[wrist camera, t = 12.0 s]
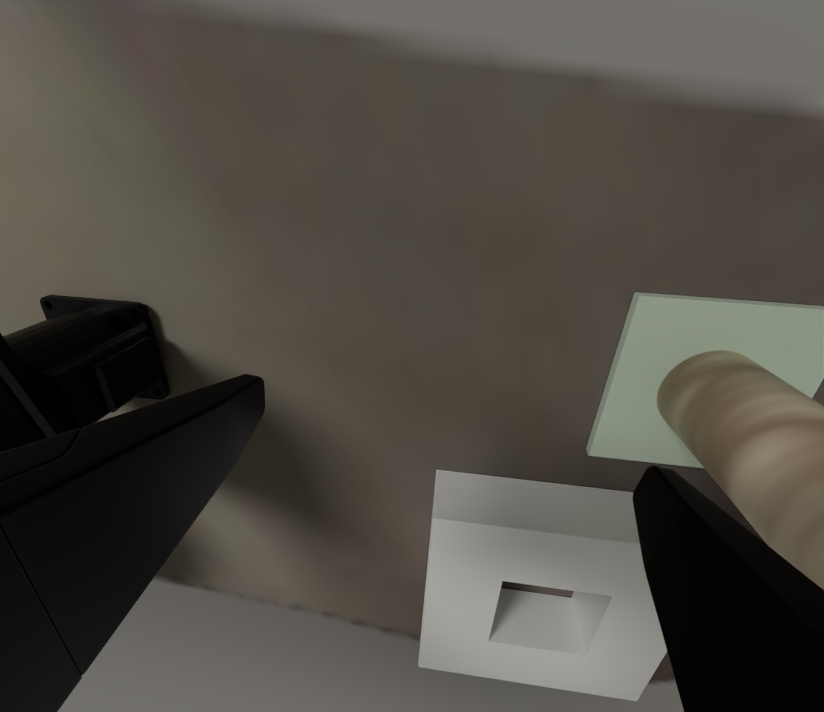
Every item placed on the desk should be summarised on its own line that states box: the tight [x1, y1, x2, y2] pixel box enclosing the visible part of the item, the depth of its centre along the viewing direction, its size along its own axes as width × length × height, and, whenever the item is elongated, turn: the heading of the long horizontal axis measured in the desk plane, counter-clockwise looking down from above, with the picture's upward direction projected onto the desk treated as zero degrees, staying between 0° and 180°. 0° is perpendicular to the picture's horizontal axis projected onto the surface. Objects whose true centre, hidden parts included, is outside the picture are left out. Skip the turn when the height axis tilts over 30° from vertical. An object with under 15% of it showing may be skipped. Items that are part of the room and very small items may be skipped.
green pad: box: [586, 292, 824, 468], centre depth 21 cm, size 10×10×1 cm
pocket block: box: [418, 470, 667, 701], centre depth 27 cm, size 16×16×4 cm
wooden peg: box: [657, 350, 824, 590], centre depth 15 cm, size 5×5×13 cm
